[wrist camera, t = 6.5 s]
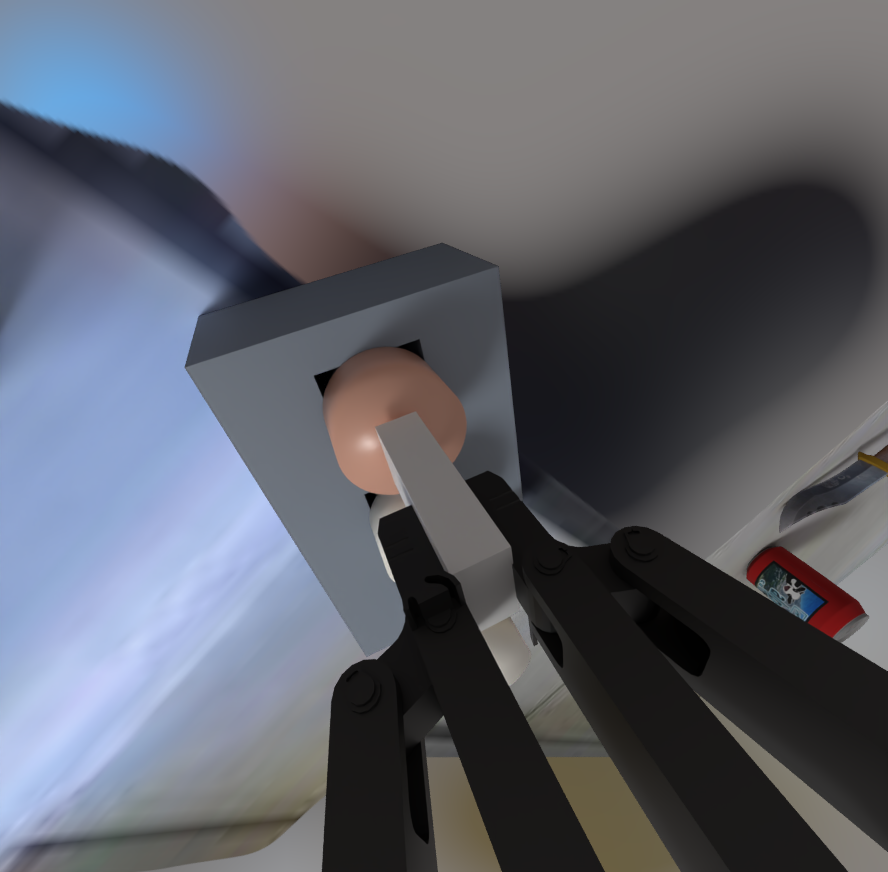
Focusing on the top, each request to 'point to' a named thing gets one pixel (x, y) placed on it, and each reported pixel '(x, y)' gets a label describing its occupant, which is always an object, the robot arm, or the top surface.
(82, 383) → the top surface
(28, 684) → the top surface
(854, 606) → the beverage can
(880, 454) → the knife
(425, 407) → the knob
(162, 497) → the top surface
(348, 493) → the mount
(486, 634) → the knob
